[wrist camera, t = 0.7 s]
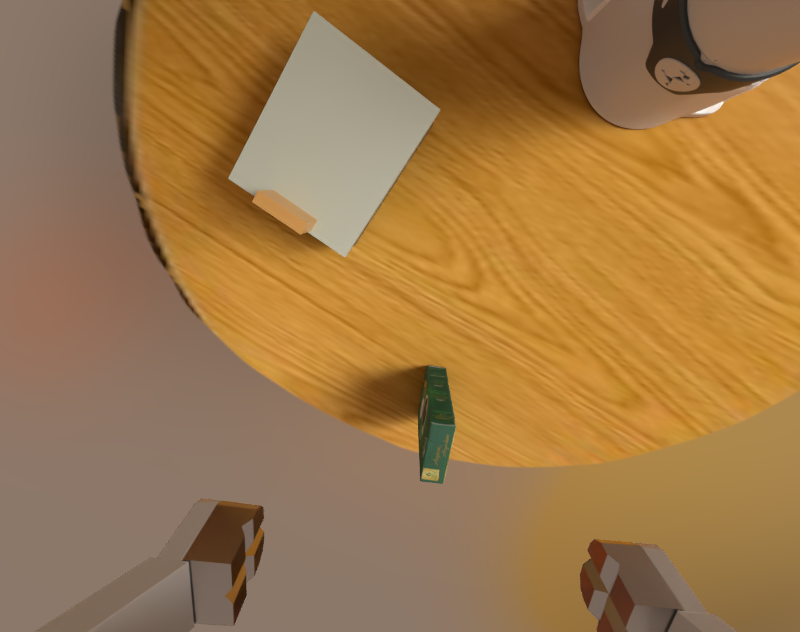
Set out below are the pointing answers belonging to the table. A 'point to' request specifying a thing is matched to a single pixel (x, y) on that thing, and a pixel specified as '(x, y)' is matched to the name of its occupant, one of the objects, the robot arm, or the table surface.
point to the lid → (331, 138)
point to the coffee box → (435, 425)
